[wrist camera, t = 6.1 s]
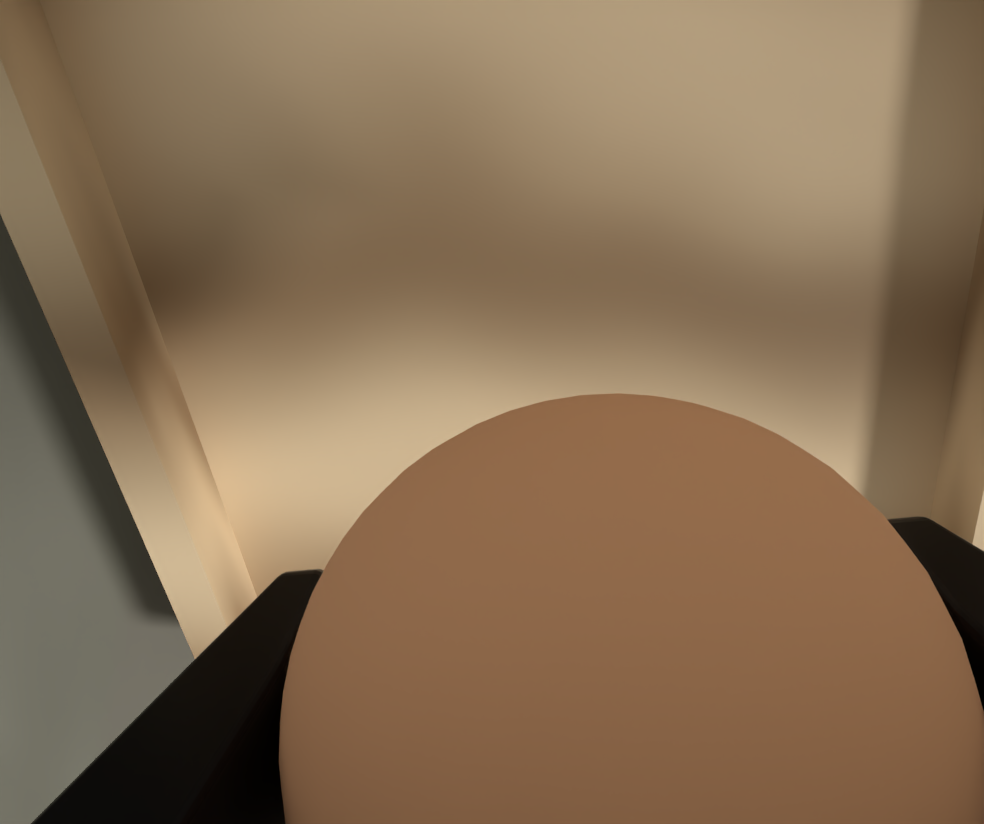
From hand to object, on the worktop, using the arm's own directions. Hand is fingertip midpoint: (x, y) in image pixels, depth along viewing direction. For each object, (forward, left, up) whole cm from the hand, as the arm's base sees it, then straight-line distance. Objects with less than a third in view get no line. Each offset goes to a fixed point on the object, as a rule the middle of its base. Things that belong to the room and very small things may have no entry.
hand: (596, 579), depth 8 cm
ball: (0, 0, -1) cm, 1 cm away
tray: (0, 0, -7) cm, 7 cm away
